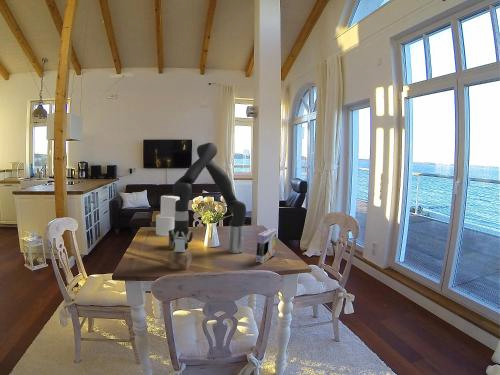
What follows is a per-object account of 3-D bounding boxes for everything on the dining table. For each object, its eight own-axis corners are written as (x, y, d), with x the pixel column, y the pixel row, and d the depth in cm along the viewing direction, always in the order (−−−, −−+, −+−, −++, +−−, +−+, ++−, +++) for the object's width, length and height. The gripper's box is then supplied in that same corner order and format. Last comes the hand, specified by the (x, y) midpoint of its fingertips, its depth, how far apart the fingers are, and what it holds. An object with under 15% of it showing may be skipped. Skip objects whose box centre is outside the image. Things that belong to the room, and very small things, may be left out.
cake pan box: (261, 265, 189) (263, 235, 187) (254, 263, 191) (255, 233, 189) (275, 256, 205) (277, 229, 203) (268, 255, 208) (270, 228, 206)
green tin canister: (181, 249, 210) (182, 227, 208) (168, 248, 211) (168, 226, 209) (186, 245, 219) (186, 224, 218) (172, 244, 220) (173, 223, 218)
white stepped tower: (168, 229, 262) (169, 195, 259) (183, 233, 252) (184, 197, 249) (151, 233, 248) (151, 196, 245) (165, 237, 238) (166, 199, 235)
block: (186, 249, 182) (186, 237, 181) (183, 252, 177) (184, 239, 176) (177, 248, 182) (178, 236, 181) (175, 251, 177) (175, 239, 176)
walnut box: (191, 263, 185) (191, 250, 184) (186, 269, 175) (187, 255, 174) (174, 262, 186) (174, 248, 185) (168, 268, 176) (168, 254, 175)
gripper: (196, 218, 181) (195, 247, 183) (170, 216, 182) (170, 246, 184) (192, 221, 173) (191, 251, 175) (166, 219, 174) (165, 250, 176)
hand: (180, 248), depth 179 cm, fingers closed on block, 5 cm apart
